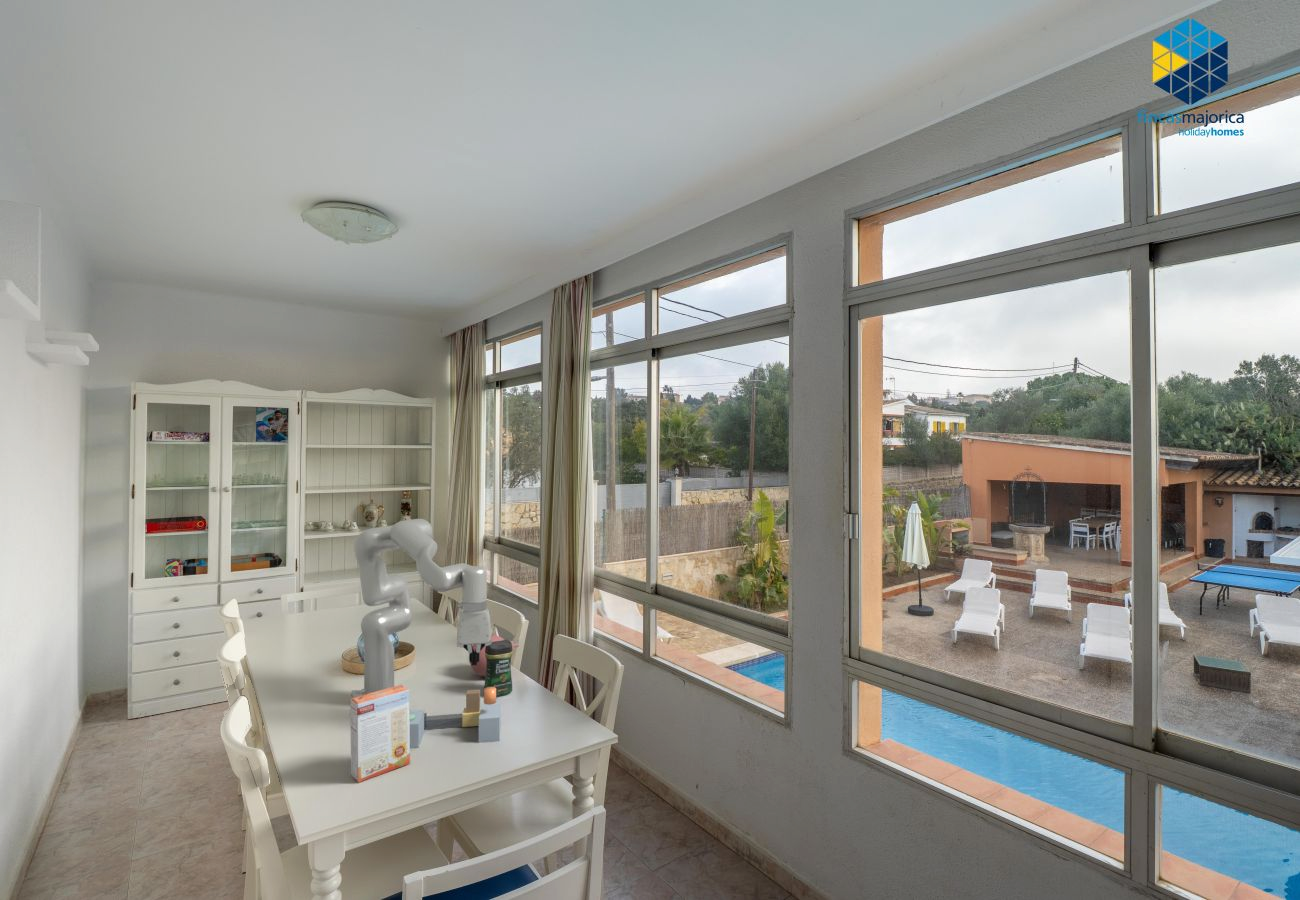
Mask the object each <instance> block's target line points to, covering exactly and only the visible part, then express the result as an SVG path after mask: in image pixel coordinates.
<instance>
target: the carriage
mask: <svg viewBox="0 0 1300 900" xmlns="http://www.w3.org/2000/svg"><path fill="white" fill-rule="evenodd" d="M465 696H466V697H465V705H466V706H465V707H464V708H463V711H462V714H463V715H462V727H461V728H468V726H469V727H479V715H480V710H481V689H469V690H466V693H465Z"/></svg>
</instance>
